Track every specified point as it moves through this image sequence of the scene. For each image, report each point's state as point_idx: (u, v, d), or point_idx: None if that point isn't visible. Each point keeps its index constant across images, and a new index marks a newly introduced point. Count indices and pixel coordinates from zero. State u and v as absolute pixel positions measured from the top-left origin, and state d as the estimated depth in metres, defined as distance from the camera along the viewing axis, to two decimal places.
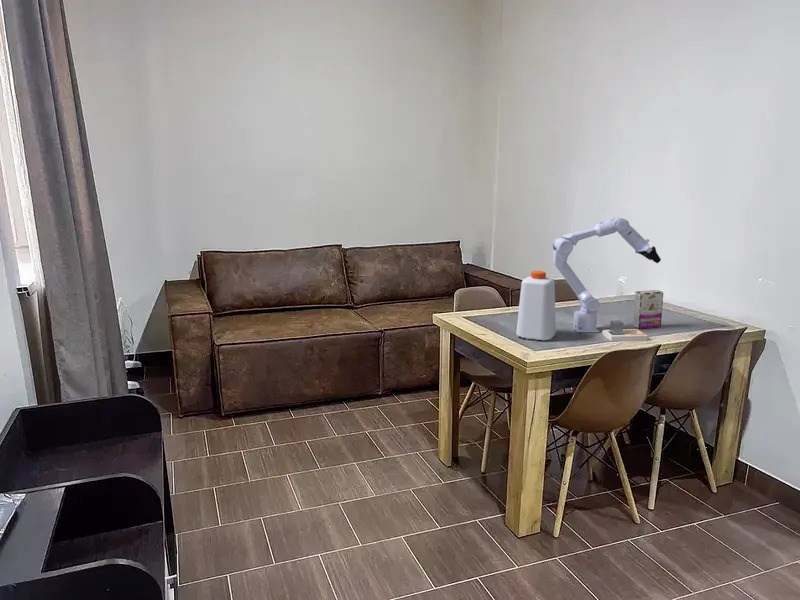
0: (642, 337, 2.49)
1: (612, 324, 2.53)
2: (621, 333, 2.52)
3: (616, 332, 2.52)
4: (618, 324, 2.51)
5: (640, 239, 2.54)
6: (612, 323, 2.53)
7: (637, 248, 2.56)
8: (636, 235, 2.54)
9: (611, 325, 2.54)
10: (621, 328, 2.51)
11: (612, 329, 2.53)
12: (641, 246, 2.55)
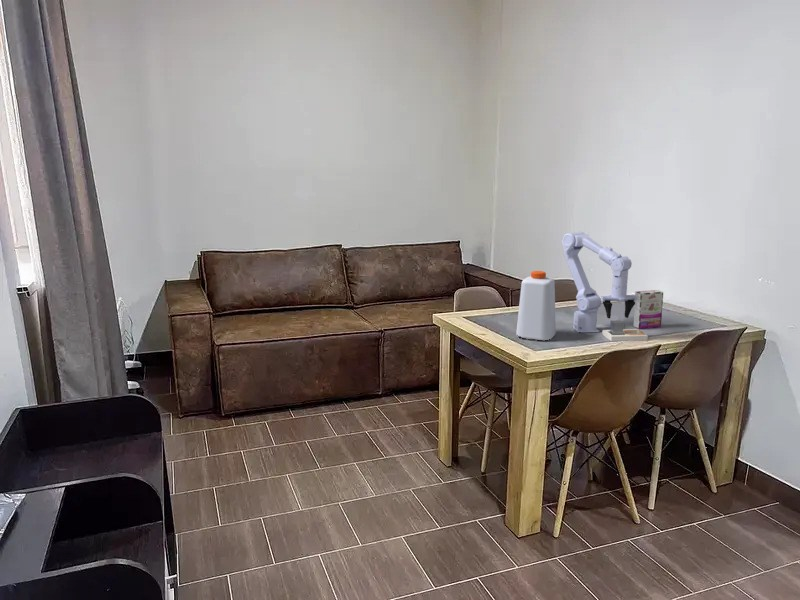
0: (642, 337, 2.49)
1: (612, 324, 2.53)
2: (621, 333, 2.52)
3: (616, 331, 2.52)
4: (618, 324, 2.51)
5: (614, 289, 2.48)
6: (612, 323, 2.53)
7: None
8: (618, 284, 2.46)
9: (611, 325, 2.54)
10: (621, 328, 2.51)
11: (612, 329, 2.53)
12: (612, 294, 2.50)
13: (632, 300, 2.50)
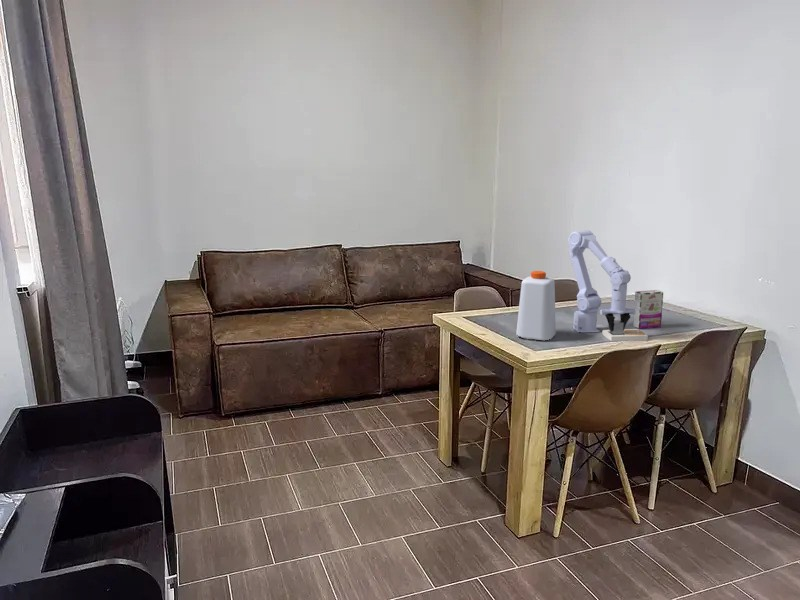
0: (642, 337, 2.49)
1: None
2: (621, 333, 2.52)
3: (616, 331, 2.52)
4: (618, 324, 2.51)
5: (613, 303, 2.49)
6: None
7: None
8: (617, 297, 2.48)
9: None
10: (621, 328, 2.51)
11: None
12: (611, 307, 2.52)
13: (627, 313, 2.51)
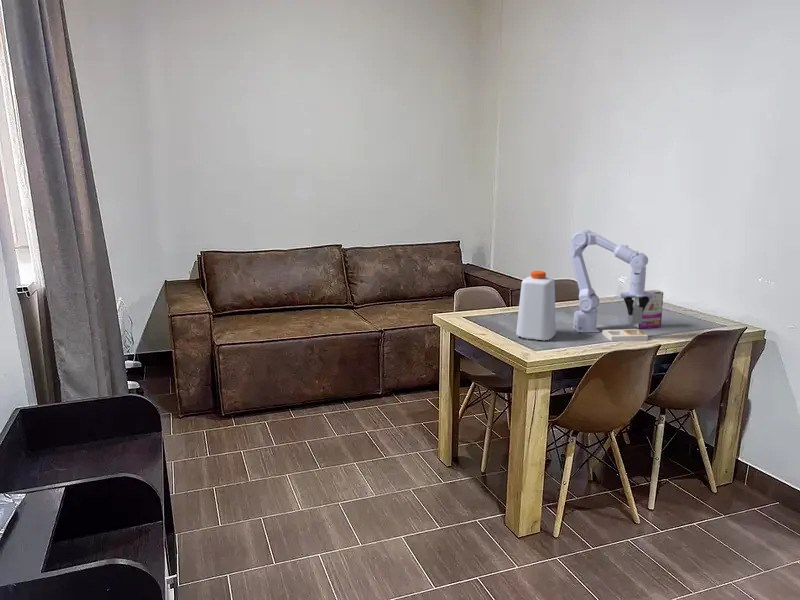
0: (642, 337, 2.49)
1: None
2: (640, 318, 2.50)
3: (635, 316, 2.50)
4: (637, 309, 2.49)
5: (632, 286, 2.48)
6: None
7: None
8: (639, 281, 2.46)
9: None
10: (640, 313, 2.50)
11: None
12: None
13: (646, 297, 2.50)
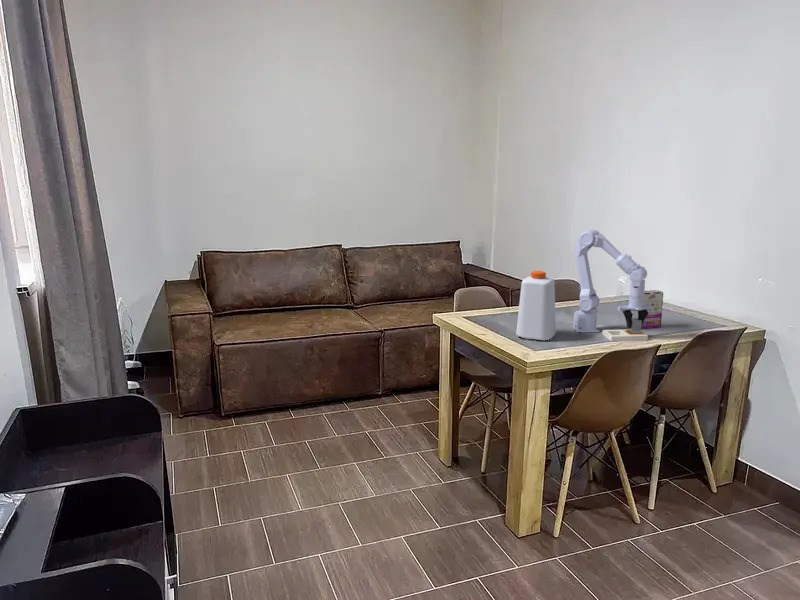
0: (642, 337, 2.49)
1: None
2: (639, 331, 2.52)
3: (634, 329, 2.51)
4: (636, 322, 2.51)
5: (631, 299, 2.49)
6: None
7: None
8: (638, 294, 2.48)
9: None
10: (639, 326, 2.51)
11: None
12: (629, 304, 2.52)
13: (645, 310, 2.51)
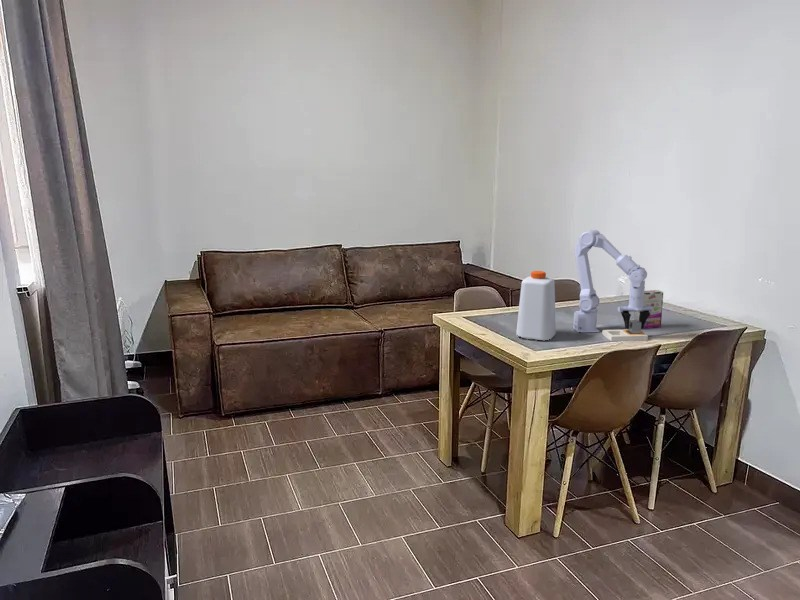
0: (642, 337, 2.49)
1: (630, 324, 2.53)
2: (639, 333, 2.52)
3: (634, 331, 2.52)
4: (636, 324, 2.51)
5: (631, 300, 2.50)
6: (630, 323, 2.53)
7: None
8: (638, 295, 2.48)
9: (629, 325, 2.54)
10: (639, 328, 2.51)
11: (630, 329, 2.53)
12: None
13: (647, 311, 2.51)
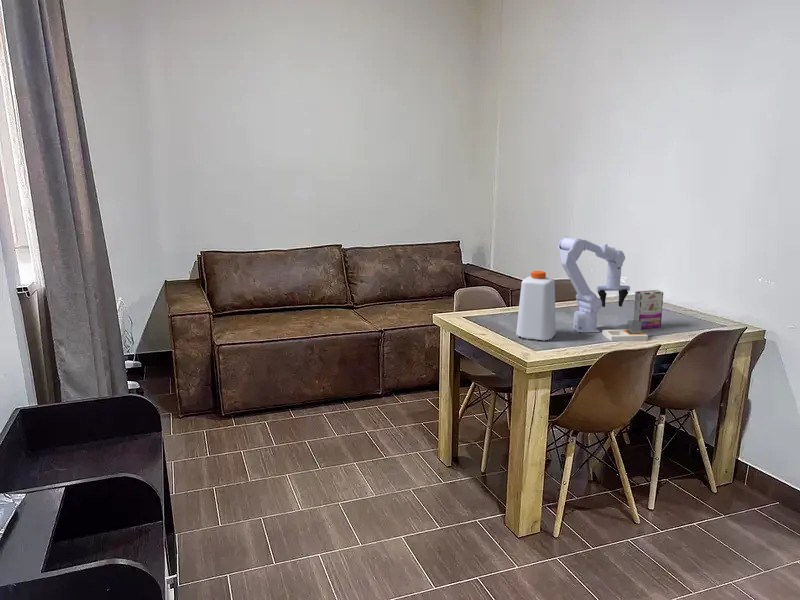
0: (642, 337, 2.49)
1: (630, 324, 2.53)
2: (639, 333, 2.52)
3: (634, 331, 2.52)
4: (636, 324, 2.51)
5: (609, 280, 2.64)
6: (630, 323, 2.53)
7: None
8: (620, 274, 2.63)
9: (629, 325, 2.54)
10: (639, 328, 2.51)
11: (630, 329, 2.53)
12: (606, 284, 2.67)
13: (625, 290, 2.66)
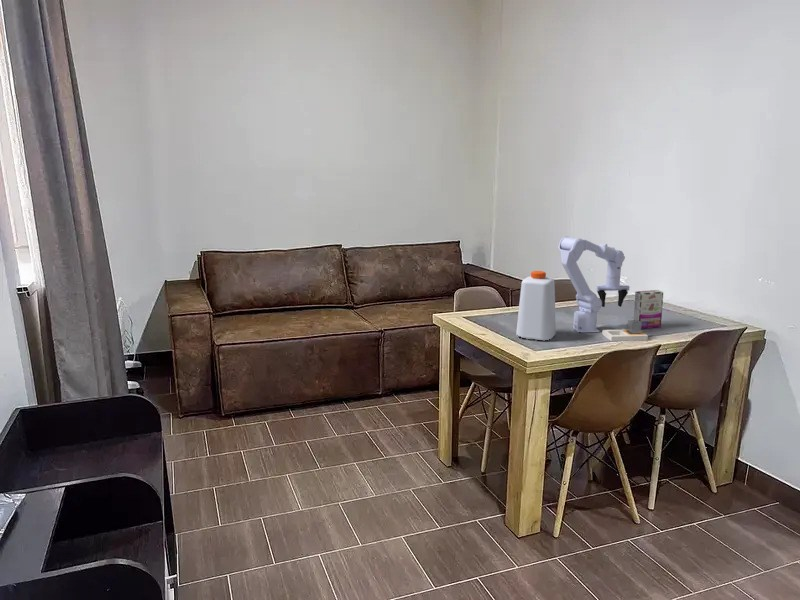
0: (642, 337, 2.49)
1: (630, 324, 2.53)
2: (639, 333, 2.52)
3: (634, 331, 2.52)
4: (636, 324, 2.51)
5: (608, 279, 2.65)
6: (630, 323, 2.53)
7: None
8: None
9: (629, 325, 2.54)
10: (639, 328, 2.51)
11: (630, 329, 2.53)
12: (606, 284, 2.67)
13: (625, 290, 2.67)
